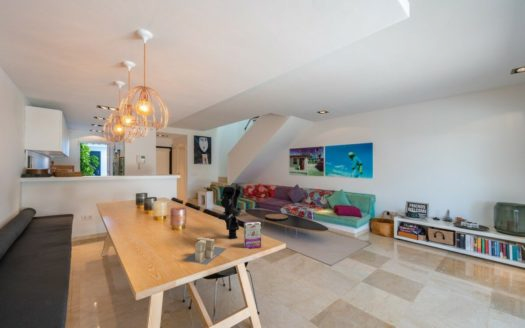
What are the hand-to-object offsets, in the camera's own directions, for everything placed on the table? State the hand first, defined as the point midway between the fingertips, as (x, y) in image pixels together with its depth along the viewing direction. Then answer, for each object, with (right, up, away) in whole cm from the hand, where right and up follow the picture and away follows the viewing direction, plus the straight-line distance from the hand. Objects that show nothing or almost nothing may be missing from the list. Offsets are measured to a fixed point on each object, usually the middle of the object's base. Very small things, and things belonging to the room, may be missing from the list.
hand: (228, 226), depth 149 cm
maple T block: (-11, -11, -24) cm, 29 cm away
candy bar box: (+17, -13, -5) cm, 22 cm away
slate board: (-11, -12, -19) cm, 24 cm away
